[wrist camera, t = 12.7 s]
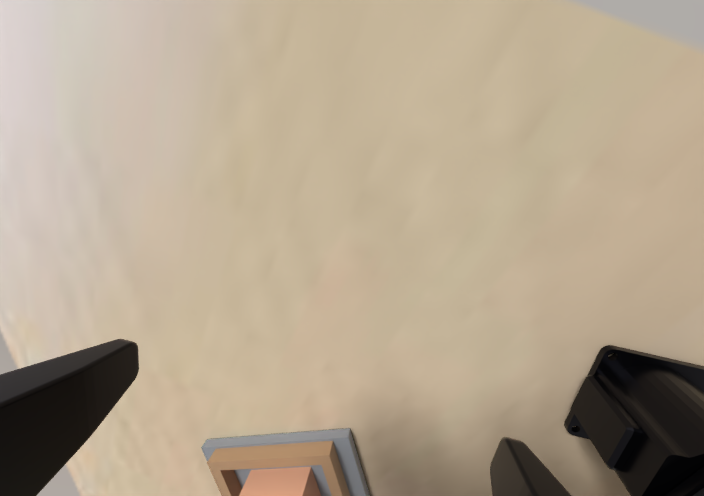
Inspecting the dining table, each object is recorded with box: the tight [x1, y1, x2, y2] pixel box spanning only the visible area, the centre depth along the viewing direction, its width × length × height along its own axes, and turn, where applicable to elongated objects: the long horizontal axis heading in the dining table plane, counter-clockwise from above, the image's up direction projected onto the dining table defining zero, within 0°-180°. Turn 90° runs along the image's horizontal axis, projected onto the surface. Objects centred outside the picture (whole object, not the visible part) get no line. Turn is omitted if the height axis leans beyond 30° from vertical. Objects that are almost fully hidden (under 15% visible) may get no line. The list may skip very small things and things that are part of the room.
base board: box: [201, 428, 370, 496], centre depth 26 cm, size 12×10×2 cm
